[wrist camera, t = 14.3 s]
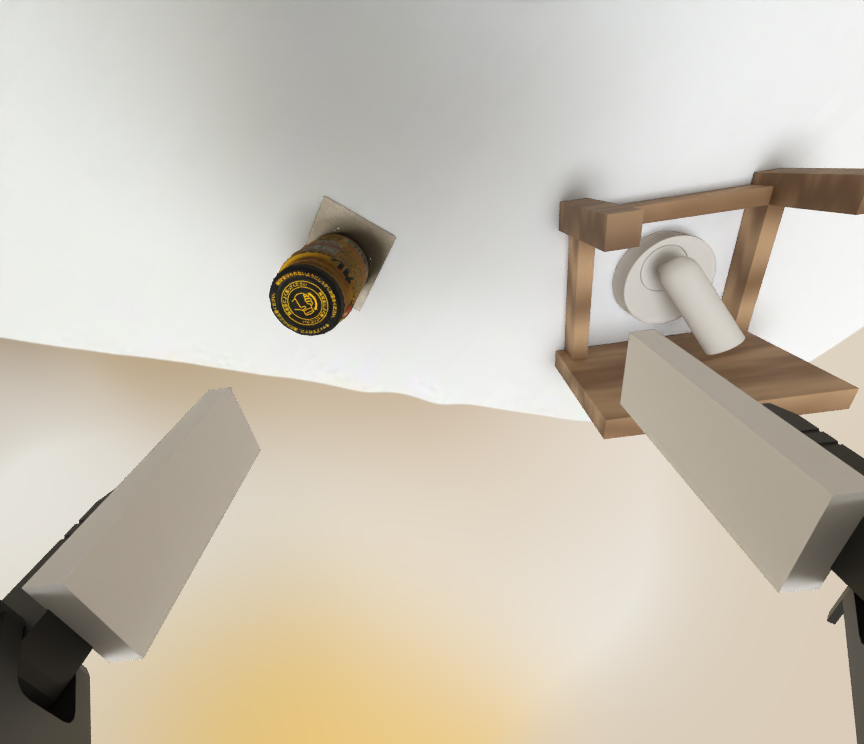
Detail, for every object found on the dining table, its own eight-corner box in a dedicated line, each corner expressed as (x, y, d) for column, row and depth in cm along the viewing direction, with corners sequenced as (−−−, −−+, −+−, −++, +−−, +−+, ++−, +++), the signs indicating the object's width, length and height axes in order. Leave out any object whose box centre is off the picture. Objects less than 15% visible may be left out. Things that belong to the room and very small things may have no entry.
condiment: (293, 277, 37) (242, 321, 27) (324, 195, 34) (280, 209, 23) (360, 310, 39) (337, 363, 28) (396, 236, 35) (386, 266, 25)
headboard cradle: (559, 202, 34) (628, 220, 23) (782, 168, 33) (969, 169, 22) (555, 366, 43) (603, 439, 31) (732, 342, 42) (848, 408, 30)
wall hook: (688, 382, 33) (650, 295, 29) (634, 339, 41) (599, 266, 37) (791, 329, 31) (766, 226, 27) (712, 294, 39) (683, 211, 35)
